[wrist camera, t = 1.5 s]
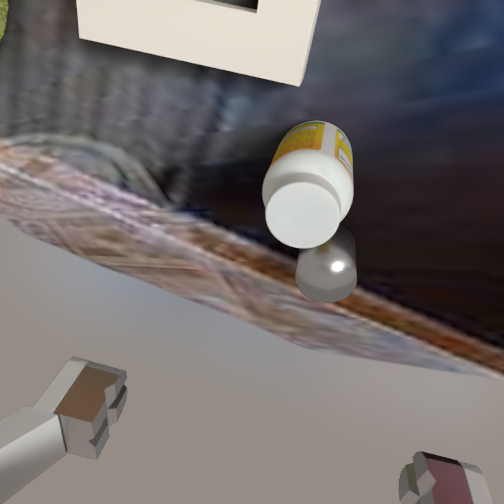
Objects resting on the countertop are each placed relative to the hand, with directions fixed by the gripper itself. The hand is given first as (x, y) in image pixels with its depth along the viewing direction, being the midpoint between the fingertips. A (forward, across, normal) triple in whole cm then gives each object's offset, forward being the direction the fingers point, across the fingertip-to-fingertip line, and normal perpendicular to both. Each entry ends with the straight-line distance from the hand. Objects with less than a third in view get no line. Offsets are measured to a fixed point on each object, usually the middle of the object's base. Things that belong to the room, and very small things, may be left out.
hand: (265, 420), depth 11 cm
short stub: (+22, -3, +7) cm, 23 cm away
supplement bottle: (+22, 0, 0) cm, 22 cm away
